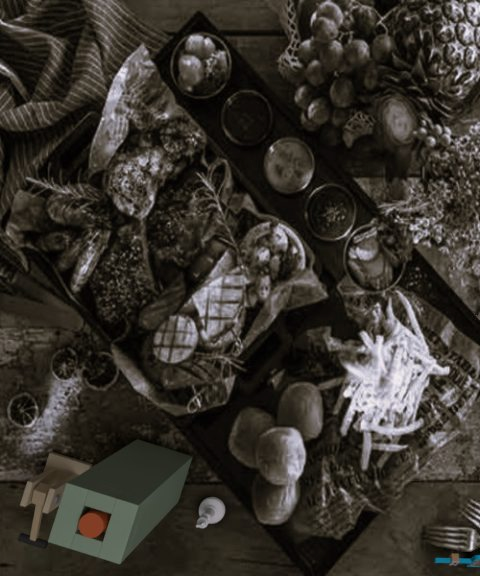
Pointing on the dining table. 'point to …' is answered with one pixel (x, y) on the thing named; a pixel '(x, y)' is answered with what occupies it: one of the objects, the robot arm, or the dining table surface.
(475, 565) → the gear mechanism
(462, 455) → the dining table surface
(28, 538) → the lever
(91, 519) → the button
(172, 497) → the button post
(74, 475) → the switch bracket
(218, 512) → the chess piece
